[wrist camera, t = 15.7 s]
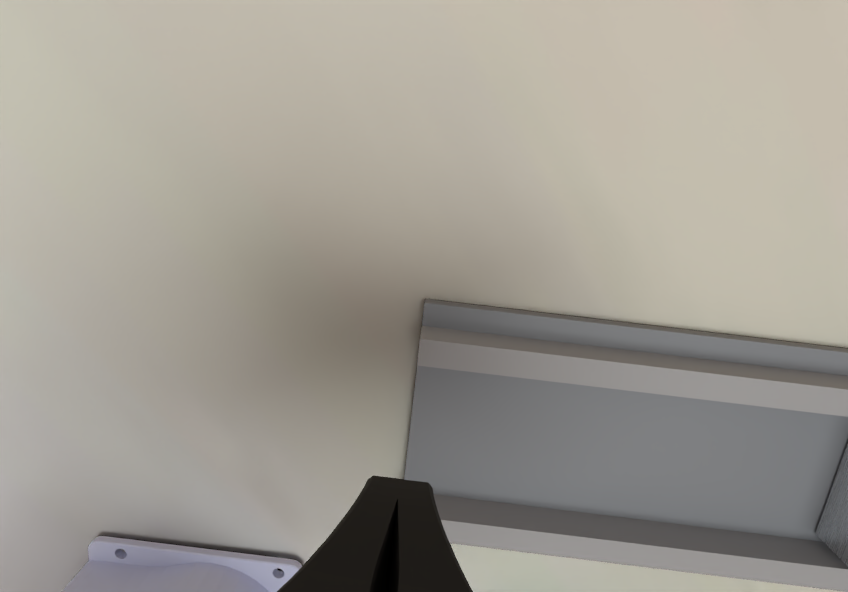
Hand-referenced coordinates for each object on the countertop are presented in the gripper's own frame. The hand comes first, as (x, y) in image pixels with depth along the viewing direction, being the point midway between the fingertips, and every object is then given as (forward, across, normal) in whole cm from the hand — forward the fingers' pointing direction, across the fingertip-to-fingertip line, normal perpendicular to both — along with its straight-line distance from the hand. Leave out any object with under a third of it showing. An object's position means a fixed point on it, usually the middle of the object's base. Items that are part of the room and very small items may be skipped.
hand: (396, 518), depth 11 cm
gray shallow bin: (+9, -11, +2) cm, 15 cm away
